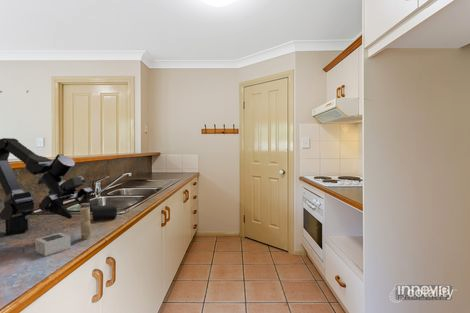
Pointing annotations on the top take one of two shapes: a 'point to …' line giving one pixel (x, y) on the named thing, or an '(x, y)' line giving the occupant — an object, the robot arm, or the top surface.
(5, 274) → the top surface
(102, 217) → the end cap
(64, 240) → the socket block
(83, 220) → the slotted cylinder
